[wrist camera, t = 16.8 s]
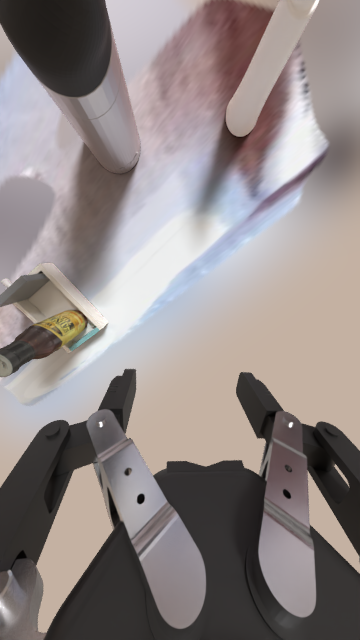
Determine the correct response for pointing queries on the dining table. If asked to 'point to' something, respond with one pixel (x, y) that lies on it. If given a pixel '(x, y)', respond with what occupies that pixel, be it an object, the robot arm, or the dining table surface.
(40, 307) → the pusher lane
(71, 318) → the sauce bottle
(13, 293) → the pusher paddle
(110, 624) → the robot arm
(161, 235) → the dining table surface
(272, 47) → the cosmetic bottle
